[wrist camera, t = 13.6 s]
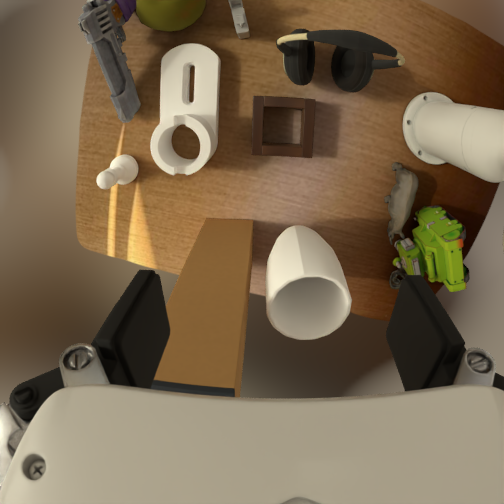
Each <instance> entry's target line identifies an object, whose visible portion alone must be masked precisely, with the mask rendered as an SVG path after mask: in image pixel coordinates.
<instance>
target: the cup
mask: <svg viewBox="0 0 504 504" xmlns="http://www.w3.org/2000/svg"><path fill="white" fill-rule="evenodd" d="M351 302H352V299H351V296H350V293H349V289H348V286H347V283H346V280H345V276H344V273H343V270H342V267H341V264H340V262H339V260H338V258H337V256H336V254H335V252H334V250H333V249H332V247H331V246H330V245H329V244H328V243H327V242H326V241H325V240H324V239H323V238H322V237H321V236H320V235H319V234H318V233H317V232H316V231H314V230H312V229H310V228H308V227H305V226H302V225H294V226H292V227H289V228H287V229H286V230H285V231H284V232H282V233H281V234H280V236H279V237H278V238H277V240H276V242H275V244H274V246H273V248H272V251H271V253H270V255H269V258H268V260H267V269H266V308H267V309H266V310H267V317H268V318H269V320H270V322H271V324H272V326H273V327H274V328H275V329H277V330H278V331H279V332H281V333H282V334H283V335H285V336H288V337H292V338H295V339H298V340H308V339H317V338H320V337H323V336H326V335H329V334H330V333H332V332H333V331H334V330H336V329H337V328H339V327H340V326H341V325H342V323H343V322H344V320H345V319H346V318H347V316H348V315H349V313H350V307H351Z"/></svg>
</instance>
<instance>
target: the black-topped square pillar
mask: <svg viewBox="0 0 504 504" xmlns="http://www.w3.org/2000/svg"><path fill="white" fill-rule="evenodd" d="M252 251H253V220H242V219H211V218H206V220H205V222H204V224H203V226H202V228H201V231H200V233H199V235H198V237H197V239H196V241H195V243H194V245H193V247H192V250H191V252H190V254H189V256H188V258H187V260H186V262H185V265H184V267H183V269H182V271H181V273H180V276H179V278H178V280H177V282H176V284H175V287H174V289H173V291H172V293H171V296H170V298H169V300H168V303H167V305H166V310H167V315H168V320H169V324H170V336H169V339H168V342H167V345H166V347H165V350H164V353H163V355H162V358H161V361H160V363H159V366H158V369H157V372H156V374H155V377H154V380H153V383H152V386H151V388H150V389H153V390H161V391H169V392H179V393H188V394H198V395H209V396H223V397H240V388H241V379H242V367H243V357H244V346H245V334H246V324H247V313H248V302H249V291H250V280H251V269H252Z"/></svg>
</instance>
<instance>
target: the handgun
mask: <svg viewBox="0 0 504 504" xmlns="http://www.w3.org/2000/svg"><path fill="white" fill-rule="evenodd" d="M135 8H136V0H88V1H87V4H85V5H83V6H82V9H83V11H84V13H83V14H81V16H80V17H79V18H78V19H79V24H78V25H79V27H80V30H81V32H82V31H83V33H84V35H85V38H86V41H87V43H88V44H92V47H93V49H94V52H95V54H96V57H97V59H98V62H99V64H100V67H101V69H102V71H103V74H104V76H105V79H106V81H107V83H108V86H109V88H110V90H111V93H112V95H111V96H110V98H111V100H112V102H113V104H114V107H115V109H116V111H117V113H118V118H119V119H120V121H122V122H123V123H124V122H130V121H131V120H132V119H133V116H134V114H135V113H136V112H137V111H138V109H139V107H140V105H141V104H140V101H139V98H138V95H137V91H136V88H135V84H134V81H133V77H132V74H131V70H130V69H128V67H127V64H126V61H127V57H126V54H125V53H123V52H122V50H121V46H122V42H124V41H125V40H126V36H125V33H124V30H123V28H122V25H124V24H125V22H127V21H128V20H129V18H130V17H131V14H132V13H133V11H134V9H135ZM117 35H118V37H119V38H117Z"/></svg>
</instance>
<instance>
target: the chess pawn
mask: <svg viewBox="0 0 504 504" xmlns="http://www.w3.org/2000/svg"><path fill="white" fill-rule="evenodd" d="M137 174H138V164H137V162H136V160H135V159H134V158H133V157H132V156H130V155H126V154H125V155H121V156H118V157H116V158H115V159H114V160H113V161H112V162H111V165H110V168H108V169H106V170H105V171H103V172H101V173H100V174H99V175H98V177H97V184H98V186H99V187H100V188H102V189H109V188H110V187H112V186H114V185H115V184H116V183H118V184H122V185H123V184H128V183H130V182H131V181H133V180H134V179H135V178H136V177H137Z"/></svg>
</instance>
